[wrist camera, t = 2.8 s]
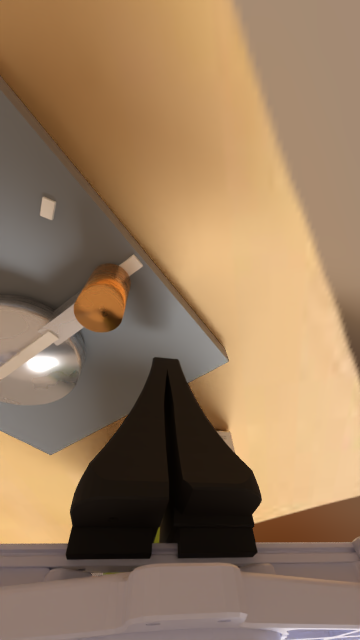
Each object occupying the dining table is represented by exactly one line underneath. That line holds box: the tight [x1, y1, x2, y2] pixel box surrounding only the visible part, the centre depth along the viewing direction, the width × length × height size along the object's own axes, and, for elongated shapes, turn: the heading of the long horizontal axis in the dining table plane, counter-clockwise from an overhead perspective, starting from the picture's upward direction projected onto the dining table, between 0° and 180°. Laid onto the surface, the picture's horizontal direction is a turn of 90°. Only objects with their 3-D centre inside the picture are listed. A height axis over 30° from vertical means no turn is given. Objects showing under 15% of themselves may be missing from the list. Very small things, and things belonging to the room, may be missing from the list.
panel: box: [0, 76, 229, 455], centre depth 16 cm, size 18×18×1 cm
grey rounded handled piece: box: [0, 263, 131, 405], centre depth 13 cm, size 12×7×3 cm, turn 125°
